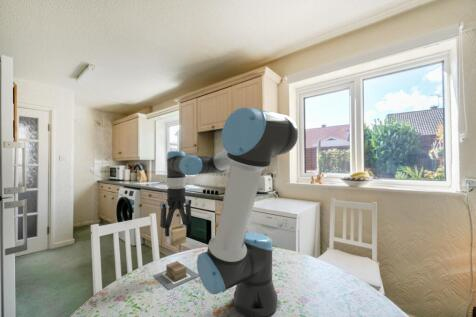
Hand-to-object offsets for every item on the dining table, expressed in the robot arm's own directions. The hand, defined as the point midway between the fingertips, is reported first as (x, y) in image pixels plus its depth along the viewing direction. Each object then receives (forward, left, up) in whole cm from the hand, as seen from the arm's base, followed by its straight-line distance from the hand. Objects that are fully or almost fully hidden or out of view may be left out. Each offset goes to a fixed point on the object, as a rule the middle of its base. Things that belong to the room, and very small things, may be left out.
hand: (176, 241), depth 93 cm
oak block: (0, 0, 0) cm, 0 cm away
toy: (-11, -35, -14) cm, 39 cm away
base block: (0, 0, -14) cm, 14 cm away
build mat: (0, 0, -15) cm, 15 cm away
